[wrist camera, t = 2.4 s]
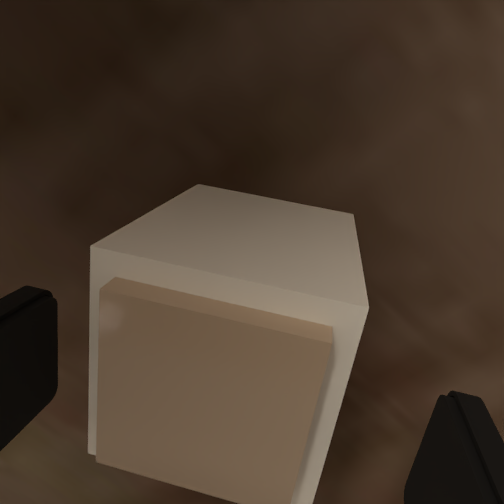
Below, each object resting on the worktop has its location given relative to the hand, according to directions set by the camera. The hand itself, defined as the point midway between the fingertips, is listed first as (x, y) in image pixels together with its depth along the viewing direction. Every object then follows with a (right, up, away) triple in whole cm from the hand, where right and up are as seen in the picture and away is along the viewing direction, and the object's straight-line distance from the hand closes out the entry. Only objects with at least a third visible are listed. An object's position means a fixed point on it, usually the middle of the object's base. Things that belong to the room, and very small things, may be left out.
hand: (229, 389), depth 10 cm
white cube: (+1, +3, +6) cm, 6 cm away
